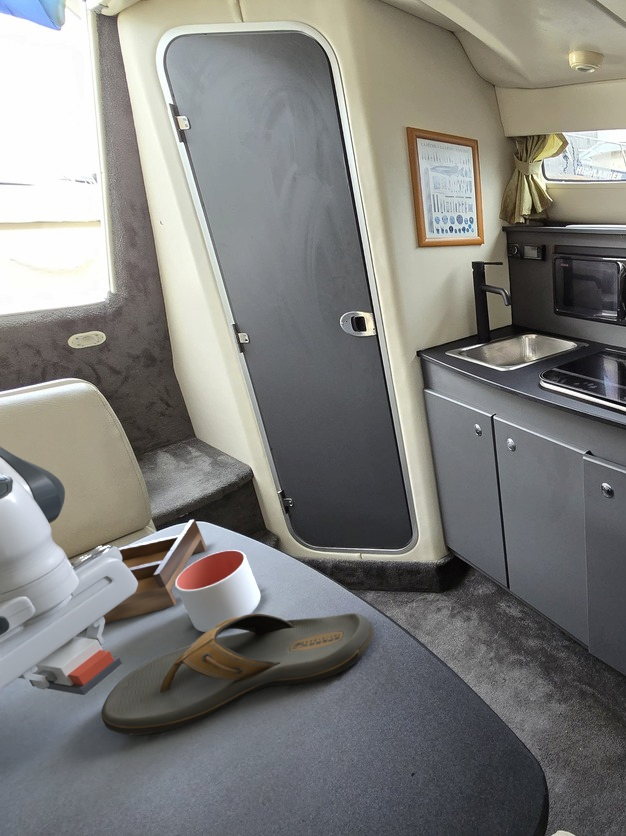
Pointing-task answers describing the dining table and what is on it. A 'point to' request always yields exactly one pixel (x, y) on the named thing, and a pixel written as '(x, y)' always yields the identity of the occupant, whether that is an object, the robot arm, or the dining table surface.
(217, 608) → the cup
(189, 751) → the dining table surface
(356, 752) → the dining table surface
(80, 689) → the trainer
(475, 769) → the dining table surface
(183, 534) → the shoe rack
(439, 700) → the dining table surface
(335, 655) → the sandal
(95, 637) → the robot arm
